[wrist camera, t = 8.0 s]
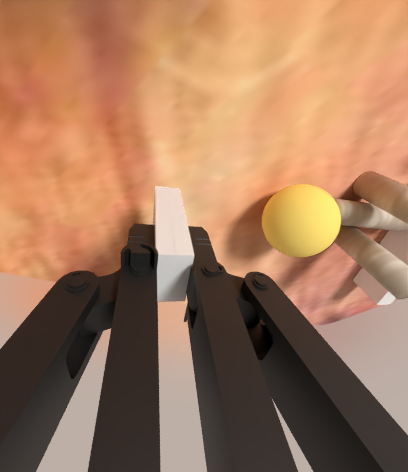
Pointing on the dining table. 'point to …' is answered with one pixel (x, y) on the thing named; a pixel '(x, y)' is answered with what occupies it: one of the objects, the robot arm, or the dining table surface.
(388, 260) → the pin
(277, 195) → the ball
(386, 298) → the wall
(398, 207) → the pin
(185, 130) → the dining table surface
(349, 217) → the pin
